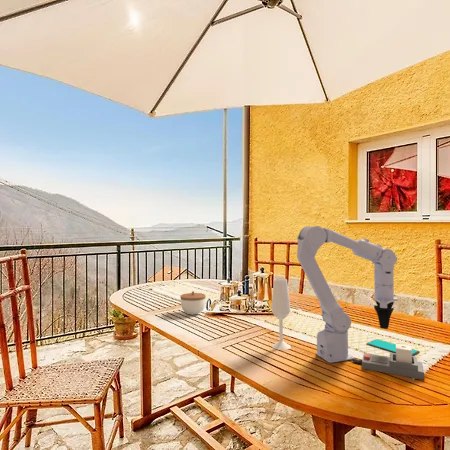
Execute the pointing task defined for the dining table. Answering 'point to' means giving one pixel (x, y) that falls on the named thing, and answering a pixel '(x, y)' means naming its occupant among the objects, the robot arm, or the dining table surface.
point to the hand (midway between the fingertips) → (384, 325)
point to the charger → (403, 353)
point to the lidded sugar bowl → (193, 302)
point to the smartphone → (387, 346)
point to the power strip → (392, 365)
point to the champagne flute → (280, 308)
